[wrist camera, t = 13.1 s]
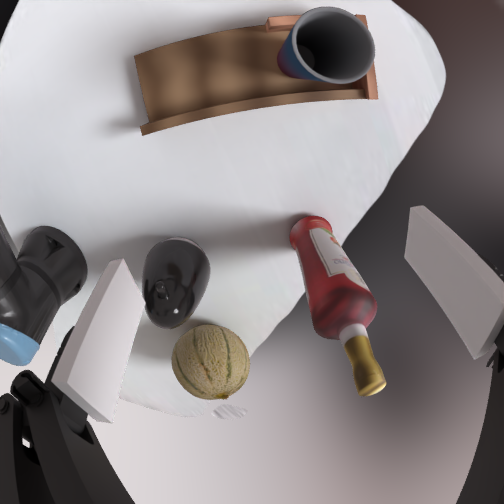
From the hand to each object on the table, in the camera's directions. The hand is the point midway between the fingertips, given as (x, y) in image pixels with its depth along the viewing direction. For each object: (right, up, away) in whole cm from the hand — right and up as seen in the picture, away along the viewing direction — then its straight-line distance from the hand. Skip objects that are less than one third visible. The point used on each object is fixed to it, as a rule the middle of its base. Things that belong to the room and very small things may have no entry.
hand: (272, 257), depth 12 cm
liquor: (+8, +4, +33) cm, 34 cm away
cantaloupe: (-9, -17, +44) cm, 48 cm away
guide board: (-1, +24, +19) cm, 30 cm away
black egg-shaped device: (-12, 0, +34) cm, 36 cm away
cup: (+5, +24, +17) cm, 30 cm away
